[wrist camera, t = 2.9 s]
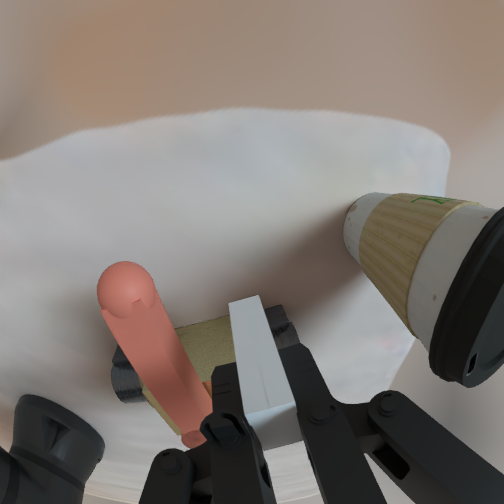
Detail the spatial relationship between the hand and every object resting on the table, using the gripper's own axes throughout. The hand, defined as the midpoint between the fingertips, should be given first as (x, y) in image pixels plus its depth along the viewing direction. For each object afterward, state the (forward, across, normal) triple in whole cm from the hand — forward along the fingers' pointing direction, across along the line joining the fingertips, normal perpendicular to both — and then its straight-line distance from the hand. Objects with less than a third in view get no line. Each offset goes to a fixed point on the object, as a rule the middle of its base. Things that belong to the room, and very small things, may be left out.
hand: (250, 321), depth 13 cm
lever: (+1, -5, -2) cm, 5 cm away
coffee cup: (+8, +12, 0) cm, 15 cm away
